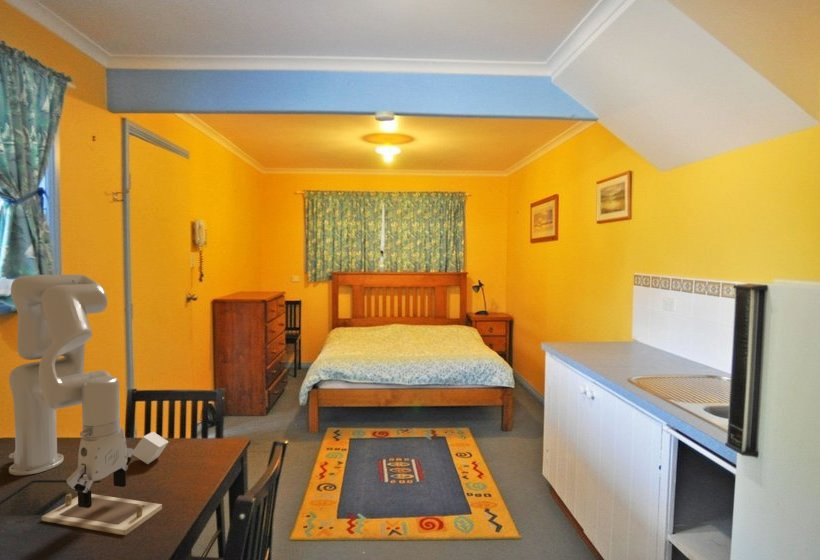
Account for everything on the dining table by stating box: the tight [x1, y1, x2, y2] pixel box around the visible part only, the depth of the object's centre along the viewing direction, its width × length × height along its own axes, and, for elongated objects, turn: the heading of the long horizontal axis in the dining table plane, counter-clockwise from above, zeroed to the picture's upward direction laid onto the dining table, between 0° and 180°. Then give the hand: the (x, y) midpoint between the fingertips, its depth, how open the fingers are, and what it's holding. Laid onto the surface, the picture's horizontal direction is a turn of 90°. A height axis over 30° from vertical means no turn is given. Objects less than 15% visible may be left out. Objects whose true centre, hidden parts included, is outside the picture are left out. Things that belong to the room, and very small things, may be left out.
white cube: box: [132, 431, 169, 465], centre depth 137 cm, size 6×6×6 cm
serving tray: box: [41, 493, 163, 536], centre depth 109 cm, size 24×11×4 cm, turn 78°
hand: (103, 495), depth 108 cm, fingers open, 9 cm apart
